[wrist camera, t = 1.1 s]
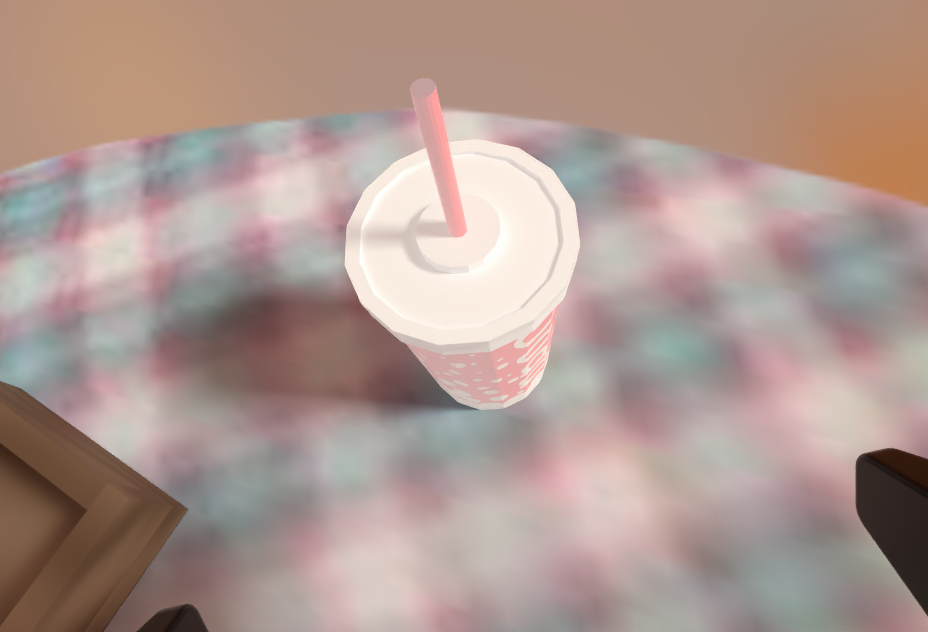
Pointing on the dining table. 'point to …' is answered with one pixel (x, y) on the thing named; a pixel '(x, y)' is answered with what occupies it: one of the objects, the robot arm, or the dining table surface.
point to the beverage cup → (466, 259)
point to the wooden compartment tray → (69, 523)
